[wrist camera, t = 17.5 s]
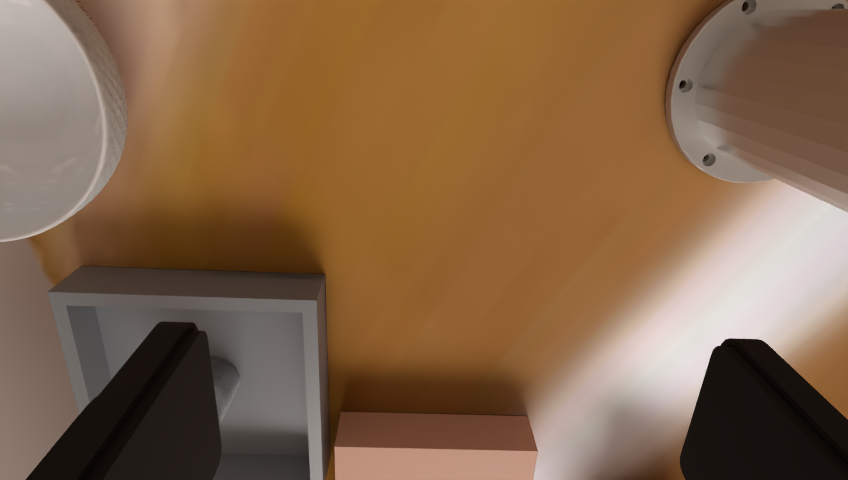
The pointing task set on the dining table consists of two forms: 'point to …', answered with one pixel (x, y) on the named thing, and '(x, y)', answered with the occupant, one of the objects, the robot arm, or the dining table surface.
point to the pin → (224, 384)
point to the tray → (216, 353)
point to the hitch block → (433, 447)
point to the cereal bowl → (54, 114)
